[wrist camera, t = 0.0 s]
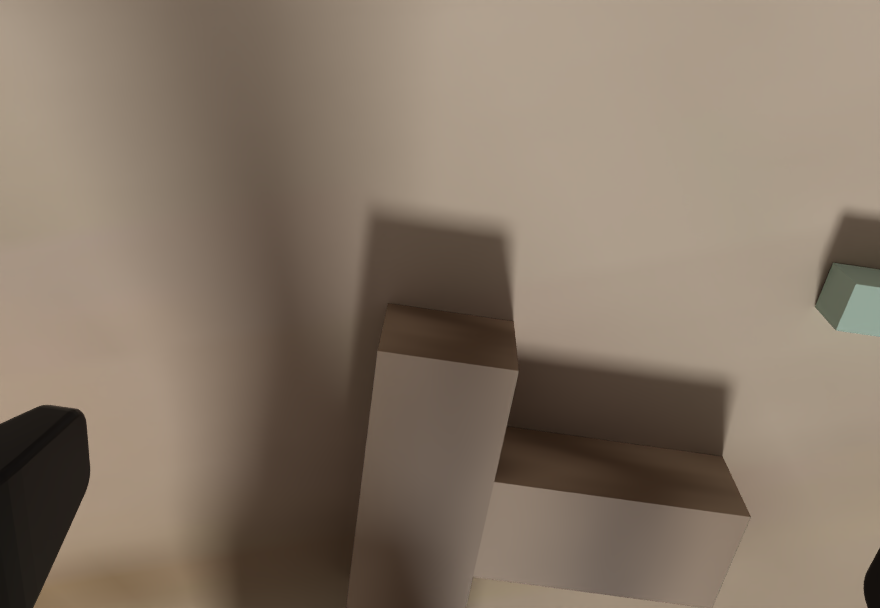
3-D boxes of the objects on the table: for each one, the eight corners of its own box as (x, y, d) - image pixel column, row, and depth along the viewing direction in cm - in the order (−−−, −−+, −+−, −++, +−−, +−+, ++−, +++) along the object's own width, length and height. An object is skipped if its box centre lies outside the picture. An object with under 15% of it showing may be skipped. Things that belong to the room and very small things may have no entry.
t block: (353, 578, 29) (341, 644, 27) (388, 302, 24) (377, 350, 21) (659, 619, 30) (677, 688, 27) (760, 356, 24) (796, 410, 22)
